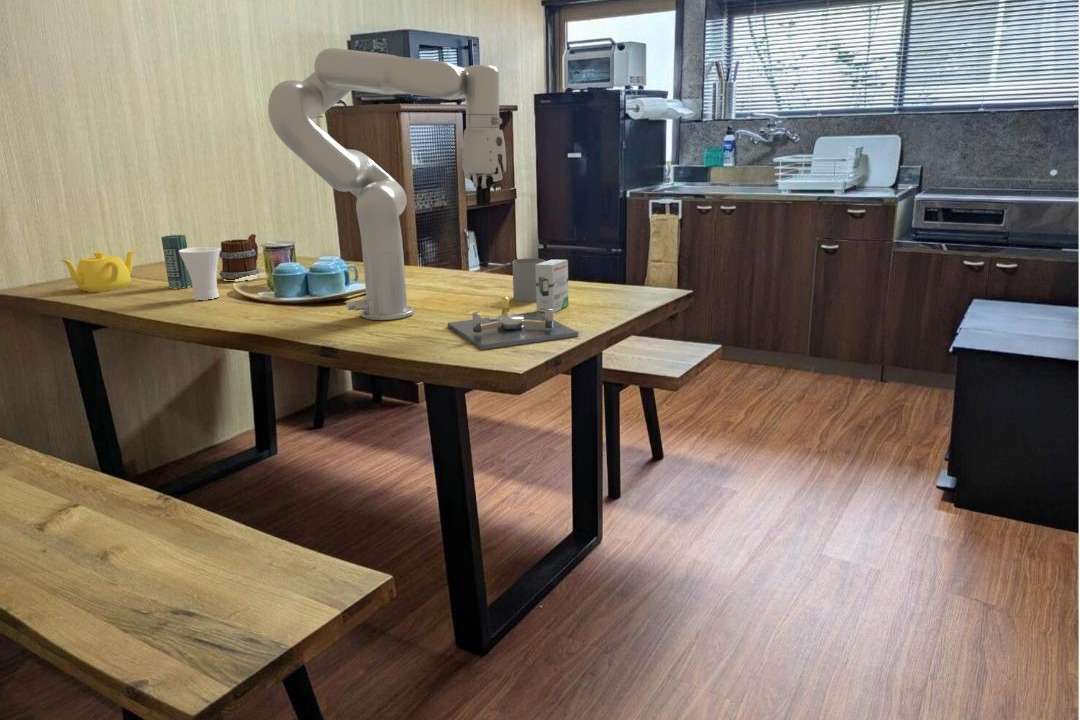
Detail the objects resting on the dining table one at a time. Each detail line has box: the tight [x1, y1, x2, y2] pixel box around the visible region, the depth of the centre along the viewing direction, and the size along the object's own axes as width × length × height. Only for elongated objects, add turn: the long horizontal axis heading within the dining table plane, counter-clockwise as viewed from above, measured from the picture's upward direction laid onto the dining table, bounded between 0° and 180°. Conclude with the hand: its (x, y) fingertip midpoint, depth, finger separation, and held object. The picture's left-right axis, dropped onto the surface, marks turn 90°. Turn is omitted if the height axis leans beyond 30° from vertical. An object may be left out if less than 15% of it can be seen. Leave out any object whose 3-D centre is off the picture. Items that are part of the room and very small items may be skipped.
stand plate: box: [447, 311, 579, 350], centre depth 173 cm, size 22×22×1 cm
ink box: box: [535, 259, 569, 314], centre depth 192 cm, size 9×5×12 cm, turn 151°
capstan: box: [471, 296, 554, 333], centre depth 174 cm, size 15×17×5 cm
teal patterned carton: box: [161, 234, 193, 288], centre depth 229 cm, size 6×6×15 cm
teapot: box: [60, 249, 137, 293], centre depth 230 cm, size 22×16×11 cm
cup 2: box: [511, 257, 546, 303], centre depth 205 cm, size 8×8×10 cm
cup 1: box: [179, 246, 221, 301], centre depth 213 cm, size 10×10×14 cm
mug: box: [218, 233, 261, 280], centre depth 242 cm, size 12×14×15 cm
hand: (483, 205), depth 183 cm, fingers closed
